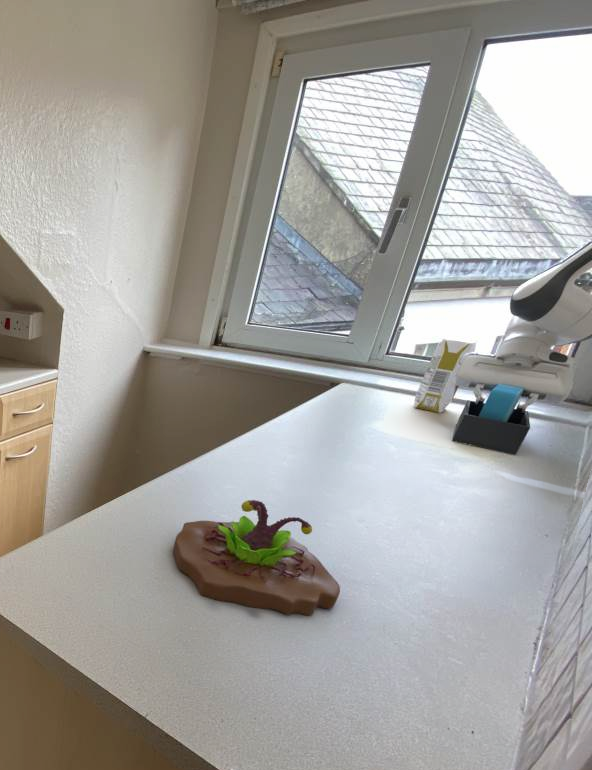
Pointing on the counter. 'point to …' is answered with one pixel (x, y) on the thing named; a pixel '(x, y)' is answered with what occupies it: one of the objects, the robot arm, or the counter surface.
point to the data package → (501, 402)
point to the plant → (254, 564)
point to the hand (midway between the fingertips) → (499, 406)
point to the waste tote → (491, 429)
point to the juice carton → (442, 374)
